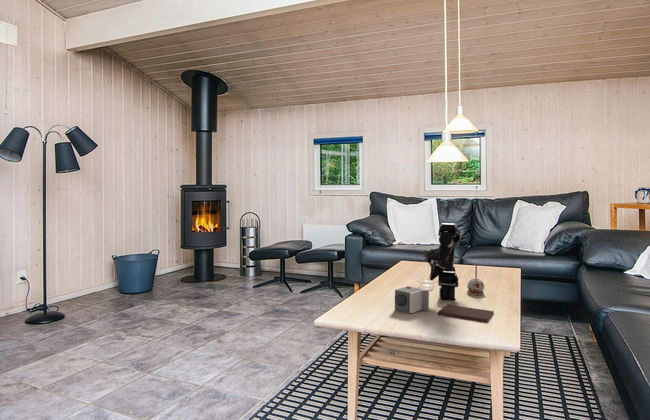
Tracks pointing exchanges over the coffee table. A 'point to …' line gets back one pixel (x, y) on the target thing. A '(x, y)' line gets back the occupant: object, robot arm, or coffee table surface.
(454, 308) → the notebook
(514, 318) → the coffee table surface
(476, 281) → the decorative ornament
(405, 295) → the block
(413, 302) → the door
